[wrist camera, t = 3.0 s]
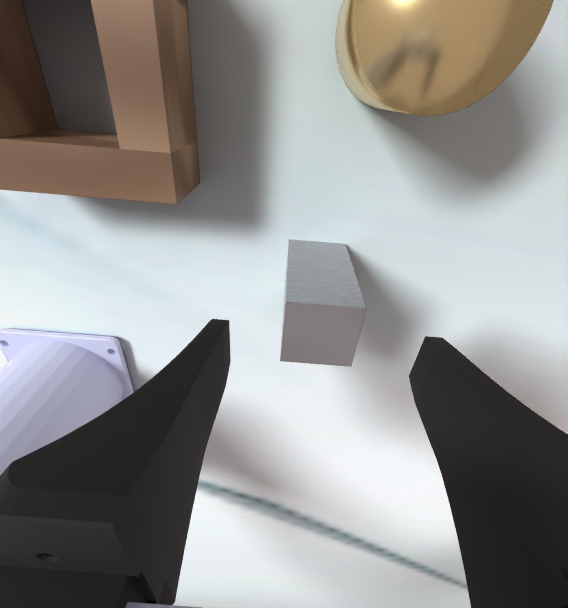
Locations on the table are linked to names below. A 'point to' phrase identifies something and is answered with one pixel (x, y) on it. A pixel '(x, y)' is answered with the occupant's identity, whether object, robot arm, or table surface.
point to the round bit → (433, 50)
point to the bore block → (125, 105)
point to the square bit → (321, 305)
